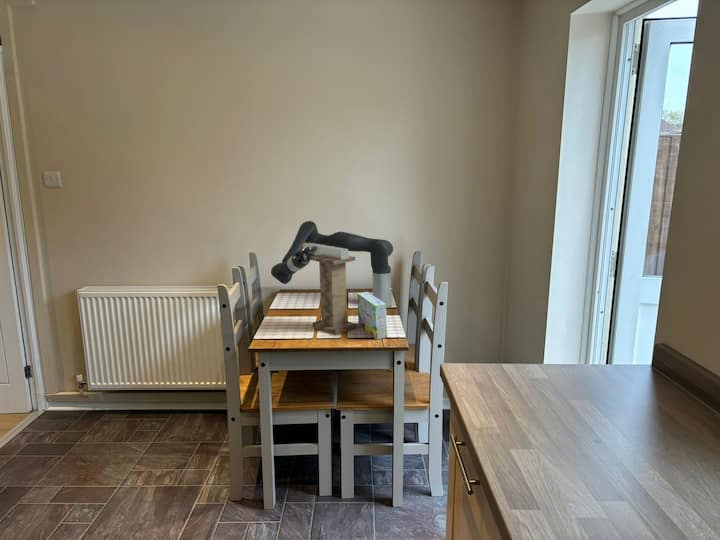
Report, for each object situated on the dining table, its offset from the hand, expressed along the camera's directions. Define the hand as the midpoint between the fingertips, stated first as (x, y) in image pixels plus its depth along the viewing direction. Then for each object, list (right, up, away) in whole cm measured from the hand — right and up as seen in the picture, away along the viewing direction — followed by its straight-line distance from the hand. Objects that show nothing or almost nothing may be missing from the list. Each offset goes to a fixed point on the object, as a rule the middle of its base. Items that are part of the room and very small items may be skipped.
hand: (316, 247), depth 213 cm
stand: (+8, -36, 0) cm, 36 cm away
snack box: (+24, -37, -5) cm, 44 cm away
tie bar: (+4, -4, -3) cm, 6 cm away
